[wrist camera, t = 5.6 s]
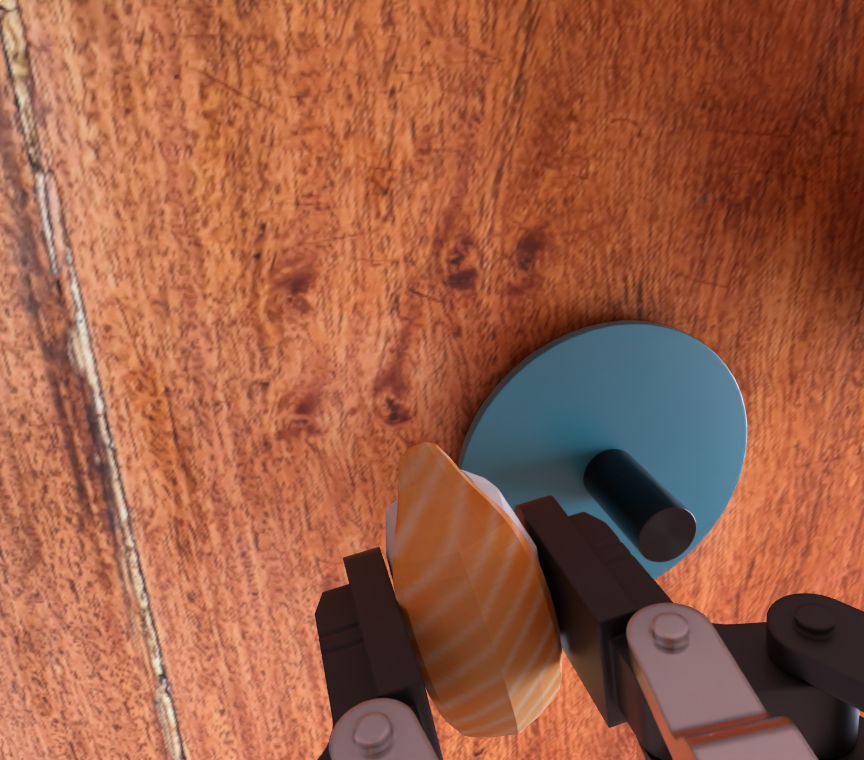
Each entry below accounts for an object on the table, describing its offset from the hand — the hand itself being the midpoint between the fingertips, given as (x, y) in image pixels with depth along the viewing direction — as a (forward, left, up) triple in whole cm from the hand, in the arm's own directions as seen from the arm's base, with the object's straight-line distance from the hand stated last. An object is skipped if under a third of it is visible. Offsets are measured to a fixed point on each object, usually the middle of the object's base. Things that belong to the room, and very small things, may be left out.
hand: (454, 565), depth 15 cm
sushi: (0, 0, -1) cm, 1 cm away
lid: (+9, +9, -15) cm, 20 cm away
